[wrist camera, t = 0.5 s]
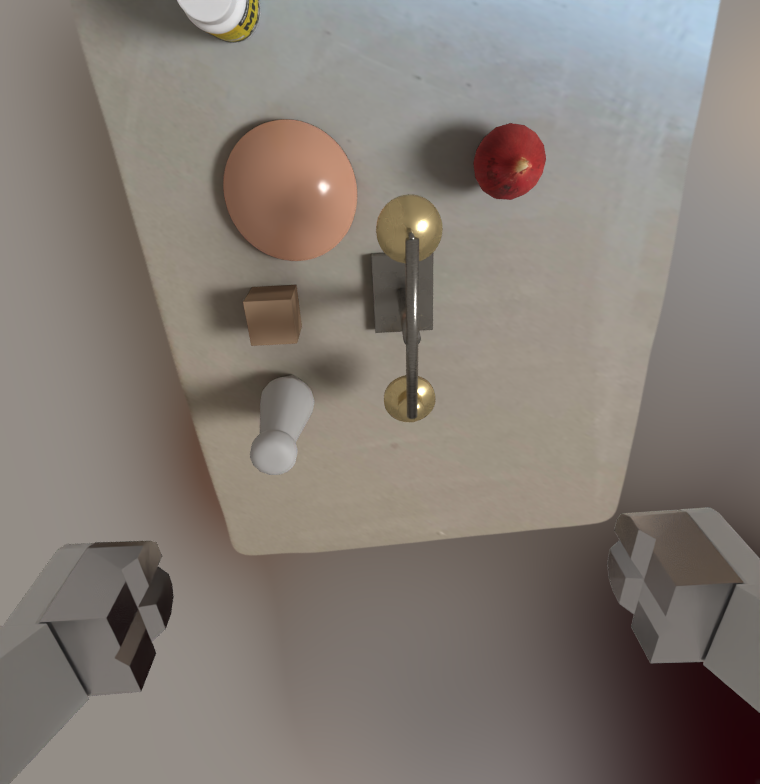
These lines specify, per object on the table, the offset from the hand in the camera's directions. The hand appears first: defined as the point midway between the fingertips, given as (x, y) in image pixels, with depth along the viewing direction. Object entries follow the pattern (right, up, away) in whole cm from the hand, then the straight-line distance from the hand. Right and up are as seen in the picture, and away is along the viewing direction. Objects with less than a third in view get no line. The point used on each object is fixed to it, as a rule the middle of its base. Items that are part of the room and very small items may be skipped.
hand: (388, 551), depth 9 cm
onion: (+11, +24, +37) cm, 45 cm away
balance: (+2, +13, +43) cm, 45 cm away
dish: (-8, +21, +38) cm, 44 cm away
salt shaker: (-10, +3, +49) cm, 50 cm away
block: (-11, +12, +43) cm, 46 cm away
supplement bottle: (-12, +33, +31) cm, 47 cm away
